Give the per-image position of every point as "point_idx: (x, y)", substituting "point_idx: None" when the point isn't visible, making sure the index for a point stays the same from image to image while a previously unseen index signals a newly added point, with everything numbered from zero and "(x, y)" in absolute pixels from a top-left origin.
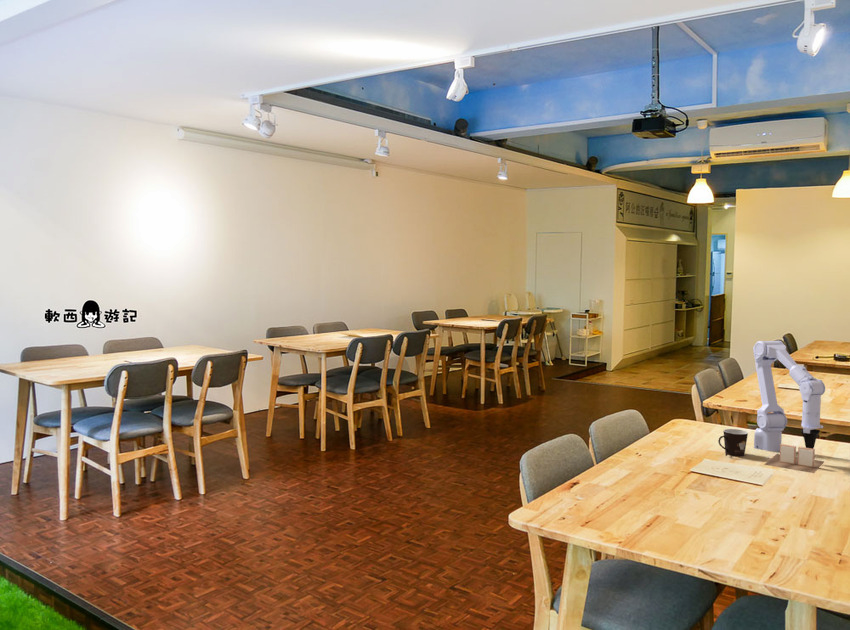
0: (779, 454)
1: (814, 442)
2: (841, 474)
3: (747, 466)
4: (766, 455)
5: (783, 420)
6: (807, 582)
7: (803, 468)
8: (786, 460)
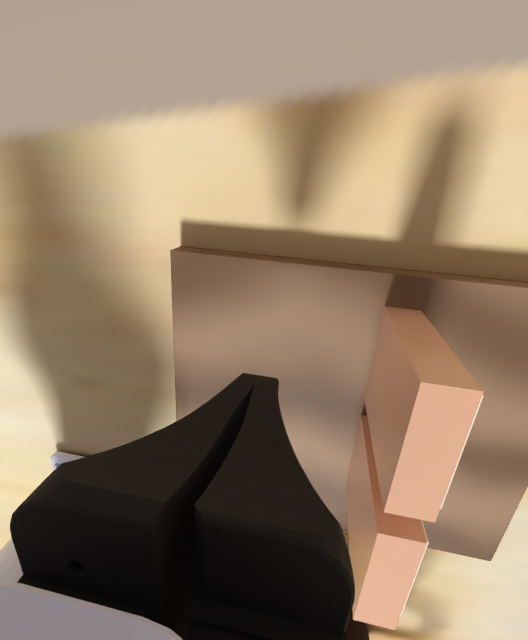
0: None
1: (261, 416)
2: (413, 91)
3: (492, 599)
4: None
5: None
6: None
7: (487, 370)
8: None
